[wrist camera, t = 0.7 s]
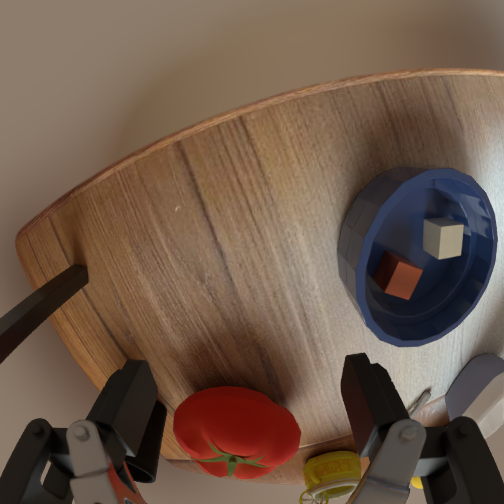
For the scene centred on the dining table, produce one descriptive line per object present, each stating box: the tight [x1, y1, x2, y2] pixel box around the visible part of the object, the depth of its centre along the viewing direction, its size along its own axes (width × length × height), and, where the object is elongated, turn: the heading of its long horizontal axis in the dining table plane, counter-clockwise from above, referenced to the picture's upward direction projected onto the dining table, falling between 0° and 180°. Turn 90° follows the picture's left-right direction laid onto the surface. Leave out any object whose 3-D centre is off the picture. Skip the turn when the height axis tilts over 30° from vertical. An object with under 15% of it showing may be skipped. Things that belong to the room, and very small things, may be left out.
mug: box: [299, 451, 361, 504], centre depth 32 cm, size 13×11×12 cm
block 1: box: [372, 250, 423, 300], centre depth 23 cm, size 3×3×3 cm
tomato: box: [173, 386, 301, 479], centre depth 28 cm, size 14×16×10 cm
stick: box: [0, 264, 88, 364], centre depth 19 cm, size 2×2×16 cm
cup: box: [124, 400, 167, 483], centre depth 28 cm, size 8×8×12 cm
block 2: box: [422, 217, 464, 259], centre depth 22 cm, size 3×3×3 cm
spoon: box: [409, 391, 431, 419], centre depth 33 cm, size 3×12×2 cm, turn 155°
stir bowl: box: [337, 164, 498, 347], centre depth 22 cm, size 17×17×6 cm
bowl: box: [445, 353, 504, 439], centre depth 26 cm, size 15×15×11 cm
